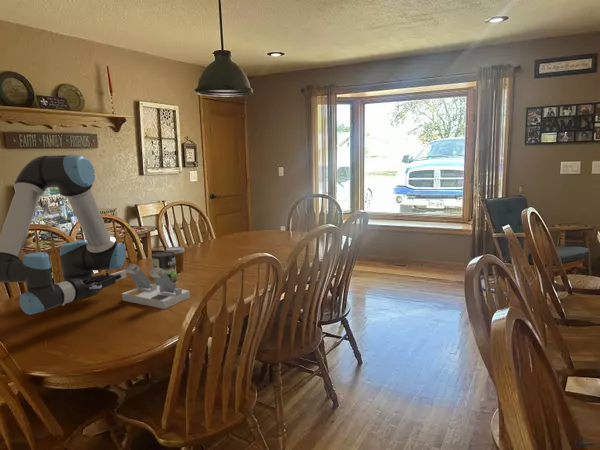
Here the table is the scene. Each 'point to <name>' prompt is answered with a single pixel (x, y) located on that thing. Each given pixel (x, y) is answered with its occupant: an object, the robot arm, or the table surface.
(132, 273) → the paddle over amber tile
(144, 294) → the switch unit
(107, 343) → the table surface
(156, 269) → the paddle over charcoal tile
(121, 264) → the robot arm
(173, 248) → the disposable coffee cup
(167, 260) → the coffee can
